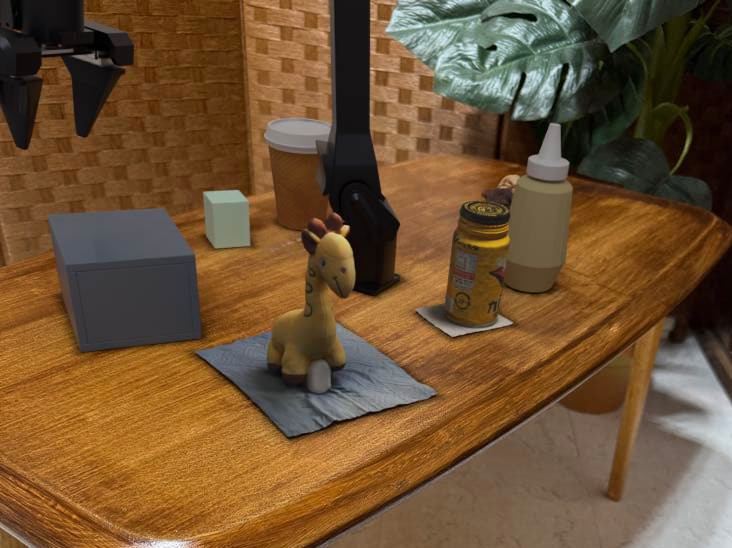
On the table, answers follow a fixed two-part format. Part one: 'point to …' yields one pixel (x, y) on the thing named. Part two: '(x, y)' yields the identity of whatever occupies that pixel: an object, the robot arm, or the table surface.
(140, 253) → the cabinet
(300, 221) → the disposable coffee cup
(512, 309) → the table surface
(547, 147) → the squeeze bottle
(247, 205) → the block
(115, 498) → the table surface
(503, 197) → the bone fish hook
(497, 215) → the condiment
